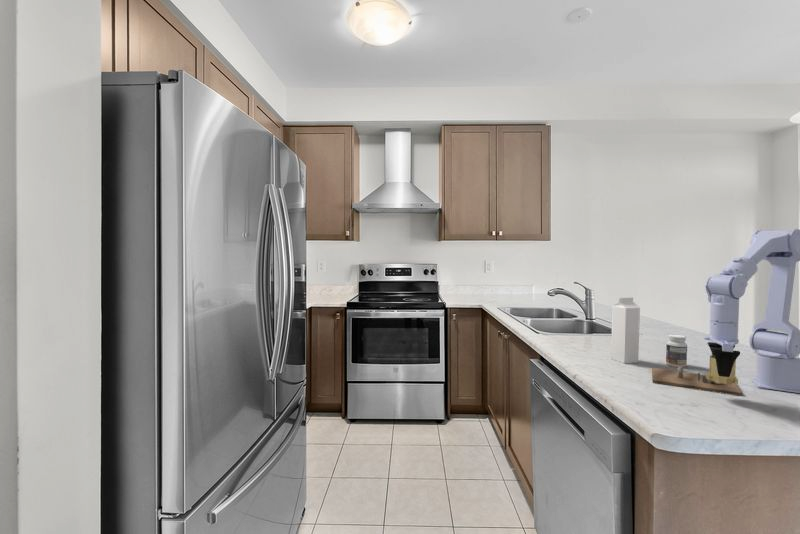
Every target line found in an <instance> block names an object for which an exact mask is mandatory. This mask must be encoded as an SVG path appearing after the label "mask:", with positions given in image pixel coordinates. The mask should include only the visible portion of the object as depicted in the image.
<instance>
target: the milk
mask: <svg viewBox="0 0 800 534" xmlns="http://www.w3.org/2000/svg"><path fill="white" fill-rule="evenodd" d="M640 313H641V308H640V306H639V305H638V304H636V303H635V302H634V297H632V296H630V297H619V298H618V302H616V303H615V304H613V305H612V309H611V343H610V345H611V346H610V360H613V361H615V362H619V363H621V364H635V363H639V355H640V353H639V351H640V349H639V348H640V322H641V321H640Z"/></svg>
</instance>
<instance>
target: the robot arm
mask: <svg viewBox="0 0 800 534" xmlns="http://www.w3.org/2000/svg"><path fill="white" fill-rule="evenodd" d="M749 244H750V246H749V247H748V248H747V249H746V251H745V252H744V253H743V255H742V256H739V257H734V258H733V259H732V260H731V261H730V262H729V263H728V264H727V265H726V266H725V267H724V268H723V269H722V270H721V271H720V273H718V274H713V275H711V276H709V278H707V281H706V284H705V291H706V294H707V300H708V302H709V303H710V308H709V309H710V310H709V335H703V339H704V340H706V341H709V342H707V346H708V347H709V349H710V351H711V355H714V356H715V359H716V365H717V371H718V375H719V376H723V377H729V376H730V374H731V371H732V368H733V364H734V362H735V360H736V361H737V359H738V357H739V356H740V355H741V351H740V350H734V349H735V348H736V345H739V341H740V339H739V317H740V316H739V315H740V314H739V312H740V298H742V297H743V296H744V295H745V293H746V288H747V287H748V284H749V283H748V282H749V281H750V280H751V278H752V277H754V275H755V274H756V273H757V272H758V266H757V265H758V264H759V263H761V261H763V260H764V261H767V262H769V264H770V275H769V281H768V290H767V298H766V305H765V307H766V308H765V314H764V319H762V320H760V321H759V322H756V323H754V324H753V326H752V331H751V332H750V335H749V339H748V343H749V346H750V348H751V349H752V350H753V351H754V353H755V354H756V374H755V378H751V381H752V382H753V383H754V385H755V386H756V387H757V388H760V389H767V390H774V391H782V392H790V393H797V394H800V357H799V355H800V329H799V328H798V327H797V326H795V325H794V324H792V322H790V313H791V308H792V307H791V306H792V299H793V298H792V297H793V289H794V282H795V274H796V265H797V263H798V262H800V229H799V228H794V229H774V230H762V229H761V230H760V229H758V230H756V231H754V232H753V233H752V234H751V236H750V243H749ZM777 331H779V332H777Z"/></svg>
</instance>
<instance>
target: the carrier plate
mask: <svg viewBox="0 0 800 534" xmlns="http://www.w3.org/2000/svg"><path fill="white" fill-rule="evenodd" d="M707 373H709V371H708V372H707V371H705V372H703V371H698V372H697V373H694V372H687V371H684V367H677V370H671V369H665V368H664V369H663V368H656V367H651V376H652V379H651V380H652V384H660V385H665V386H672V387H679V386H680V387H681V388H685V387H687V389H692V388H693V389H694V390H699V389H701V391H706V390H709V391H708V392H712V391H715V392H714V393H719V392H721V394H726V393H727V394H728V395H734V396H739V395H740V396H741V397H742V395H743V392H742V390H741V389H740V387H739V386H738V384H732V385H728V384H724V383H720V384H719V383H716V382H714V381H709V380H707V378H706V374H707ZM680 387H679V388H680ZM727 394H726V395H727Z"/></svg>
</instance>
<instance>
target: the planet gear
mask: <svg viewBox="0 0 800 534" xmlns="http://www.w3.org/2000/svg"><path fill="white" fill-rule="evenodd" d="M736 362H737V359H736V360H735V362H734V364H733V368H732V371H731V374H730V376H729V377H723V376H719V375H718V371H717V365H716V359H715V356H714V355H712V354H711V355H709V370H708V372H709V373H707V374H706V378H707V380H709V381H714V382H716V383H719V384H720V383H724V384H728V385H732V384H736V385H738V384H739V378H738V377H737V376H736V369H737V367H736V365H737V364H736Z"/></svg>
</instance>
